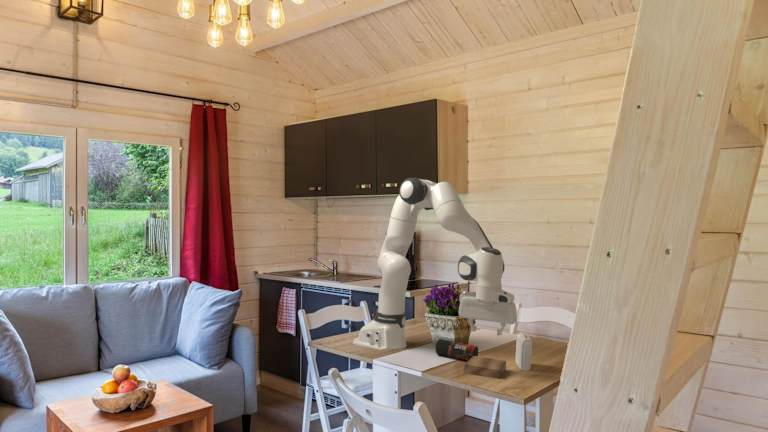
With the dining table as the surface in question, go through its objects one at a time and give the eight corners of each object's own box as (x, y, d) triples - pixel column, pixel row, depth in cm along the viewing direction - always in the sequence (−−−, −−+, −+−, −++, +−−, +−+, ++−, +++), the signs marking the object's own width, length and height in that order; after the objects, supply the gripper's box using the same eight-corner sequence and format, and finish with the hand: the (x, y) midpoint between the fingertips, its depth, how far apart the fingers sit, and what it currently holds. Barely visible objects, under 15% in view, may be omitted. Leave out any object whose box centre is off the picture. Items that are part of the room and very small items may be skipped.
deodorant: (478, 355, 221) (443, 348, 228) (477, 343, 219) (441, 336, 226) (473, 365, 216) (436, 357, 224) (471, 352, 214) (434, 344, 222)
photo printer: (513, 362, 219) (515, 330, 219) (525, 363, 219) (527, 330, 219) (519, 371, 209) (522, 337, 208) (531, 371, 209) (534, 337, 208)
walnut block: (464, 375, 203) (464, 364, 202) (473, 366, 214) (473, 355, 213) (498, 381, 198) (498, 370, 198) (505, 371, 209) (506, 361, 209)
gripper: (457, 292, 206) (455, 330, 206) (515, 299, 197) (512, 339, 198) (462, 289, 211) (460, 326, 212) (519, 296, 203) (516, 335, 204)
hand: (486, 333), depth 205 cm, fingers open, 8 cm apart
